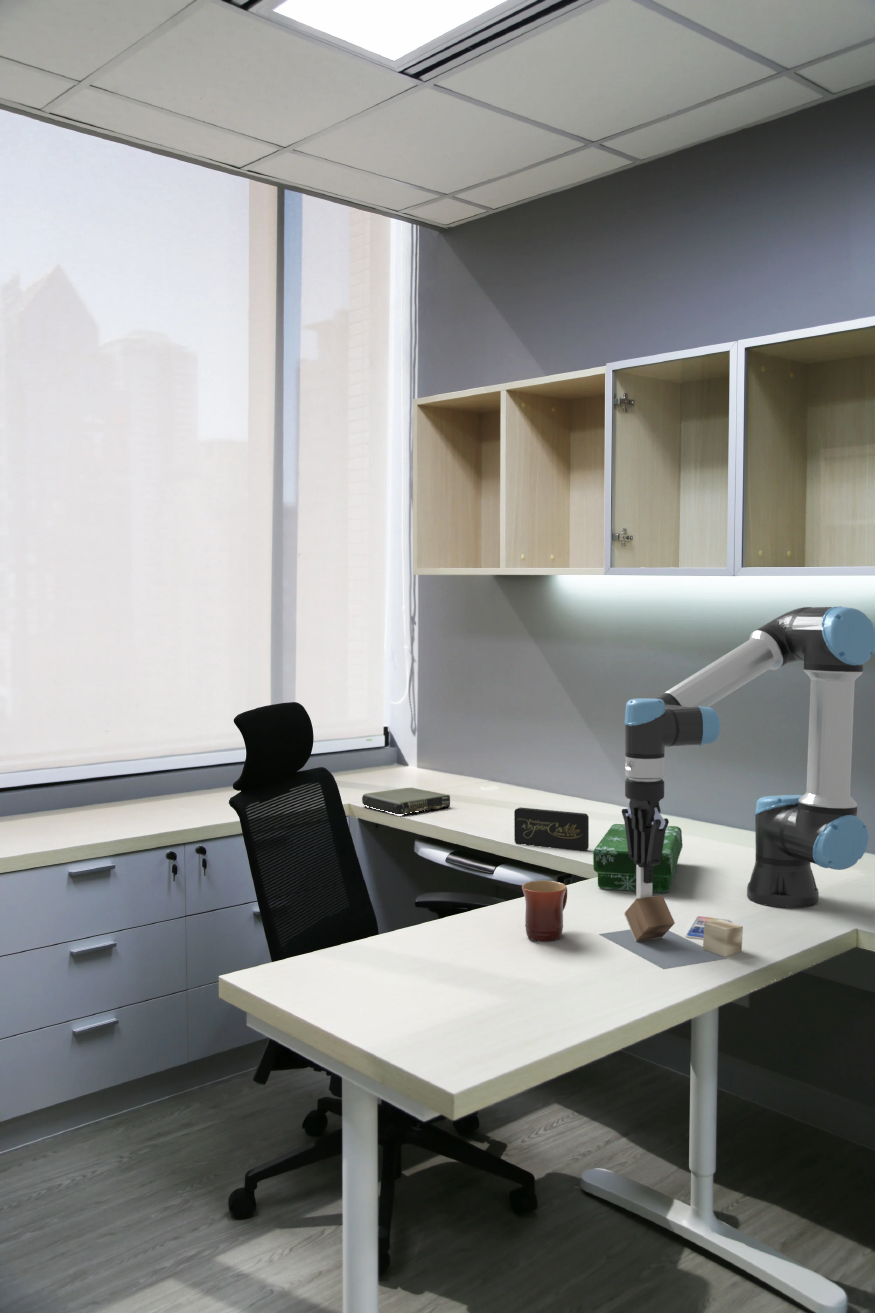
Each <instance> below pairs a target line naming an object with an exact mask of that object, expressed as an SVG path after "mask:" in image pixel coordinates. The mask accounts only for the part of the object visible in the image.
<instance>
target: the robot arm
mask: <svg viewBox="0 0 875 1313" xmlns="http://www.w3.org/2000/svg"><path fill="white" fill-rule="evenodd" d="M874 654H875V626H874V623H873V622H872V620H871V619H870V618H868V616H867V614H866V613H865V612H863V611H861V610H860V609H857V608H854V607H847V606H846V607H845V606H821V607H819V606H818V607H817V606H816V607H813V606H810V607H809V606H806V607H805V606H804V607H799V608H795V609H793V610H790V611H788V612H785V613H783V614H781V615H780V616H778V617H776V618H774V619H772V620H771V621H768V622H767V623H766V624H764V625H762V626H760V627H759V628H757V629H756V630H754V631H752V632H751V634H750V636H749V639H748V640H746V641H745V642H743V643H742V644H740V645H739V646H737V647H736V648H734V649H732V650H731V651H729V652H728V653H726V654H724V655H722V656H721V657H719V658H718V659H716V660H715V661H713V662H711V663H710V664H708V665H707V666H704V667H703V668H701V669H700V670H699V671H697V672H696V673H694V674H692V675H690V676H688V677H687V678H686V679H683V681H681V682H680V683H678V684H675V685H674V686H673V687H672V688H670V689H668V690H666V691H665V692H663V693H661V694H659V695H658V696H656V697H654V698H646V697H645V698H641V697H640V698H639V697H638V698H632V699H629V700H628V701H627V702H626V704H625V713H624V723H623V724H624V744H625V745H624V749H625V751H624V752H625V753H624V754H625V760H624V761H625V763H624V767H625V769H624V776H626V777H627V778H626V779H625V781H624V797H625V798H626V799H629V802H628V806H627V808H622V809H621V814H622V815H621V816H622V818H623V821H624V824H625V830H626V838H627V846H628V854H629V858H630V859H633V860H634V863H635V864H636V891H635V894H636V898H635V899H639V898H646V897H653V892H652V883H653V867H654V865H659V864H660V863H661V857H662V850H663V844H664V837H665V830H666V828H667V826H669V823H670V822H669V819H668V818H664V817H663V816H662V814H661V813H662V812H661V806H660V801H661V800H663V799H665V781H664V779H663V778H664V777H665V776H666V774H665V763H666V762H665V760H666V759H665V753H666V751H665V750H666V749H665V747H666V748H667V747H668V748H669V747H670V748H671V747H682V746H700V747H701V746H703V745H709V744H713V743H715V742H716V741H717V739H719V736H720V733H721V720H720V716H719V714H718V713H717V711H716V710H715V709H714V708H712V707H711V706H713V705H714V704H716V703H717V702H719V701H720V700H722V699H723V698H725V697H727V696H728V695H730V694H731V693H733V692H734V691H737V689H739V688H741V687H743V686H744V685H746V684H747V683H749V682H751V681H752V680H754V679H755V678H757V677H758V676H760V675H761V674H763V673H765V672H767V671H768V670H772V671H777V670H779V669H781V667H783V666H785V665H788V664H791V663H795V662H796V663H797V662H803V672H804V673H805V674H806V676H808V677H809V679H810V690H809V716H808V719H809V720H808V740H807V741H808V742H807V743H808V744H807V745H808V746H807V765H806V766H807V770H806V792H805V793H804V794H782V795H778V794H777V795H767V796H766V795H765V796H762V797H760V798H759V799H757V800H756V804H755V805H756V806H755V813H754V816H755V818H754V821H755V822H754V823H755V824H754V825H755V826H754V827H755V832H754V833H755V839H754V840H755V857H754V858H755V861H754V866H753V869H752V872H751V875H750V878H749V882H748V884H747V886H746V897H747V898H748V899H749V900H750V901H753V902H754V903H757V904H760V905H764V906H769V907H776V908H793V909H794V908H807V907H812V906H815V905H818V903H819V894H820V892H819V889H818V886H817V884H816V879H815V876H814V873H813V870H812V866H811V864H814V865H817V866H819V867H821V868H824V869H831V870H837V871H840V870H841V871H843V870H846V869H849V868H852V867H853V866H855V865H856V864H857V863H858V862H859V860H861V859H862V858H863V856H864V855H865V853H866V851H867V848H868V846H869V841H870V837H869V836H870V835H869V829H868V827H867V825H866V824H865V822H864V821H863V820H862V819H861V818H859V817H858V803H857V801H855V799H853V797H852V796H851V782H852V759H853V758H852V757H853V756H852V754H853V753H852V751H853V735H854V734H853V732H854V731H853V730H854V710H855V709H854V707H855V706H854V703H855V681H856V680H857V679H858V678H859V677H860V676H861V675H862V674H863V672H864V664H865V663H867V662H868V661H869V660H870V659H871V658H872V655H874ZM633 851H634V852H633Z"/></svg>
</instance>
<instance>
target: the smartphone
mask: <svg viewBox="0 0 875 1313" xmlns="http://www.w3.org/2000/svg"><path fill="white" fill-rule="evenodd" d="M717 920H724V921H727V922H730V923H733V922H732V920H730V919H723V918H717V917H710V916H701V915H700V916H699V915H698V916H696V917H695V919H694V920H693V922H692V923H691V925H690V927H688V928H689V929H688V930H687V931H686V934H684V938H686V939H690V940H691V939H694V940H700V941H703V939H704V923H707V922H712V921H717Z"/></svg>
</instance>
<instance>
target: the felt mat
mask: <svg viewBox="0 0 875 1313" xmlns="http://www.w3.org/2000/svg"><path fill="white" fill-rule="evenodd" d="M598 935H599V936H601V937H603V938H605V939H607V940H608V941H610V942H612V943H614V944H616V945H618V946H619V947H622V948H623V949H624V950H625V949H626V950H627V951H628V952H631V953H632V954H635V955H637V957H641V958H642V959H643V960H646V961H648V962H649V963H652V964H653V965H655V966H656V967H658V968H660V969H663V970H667V969H673V968H678V967H684V966H691V965H697V964H703V963H709V962H713V961H714V962H715V961H721V960H727V959H728V958H727V956H725V957H724V956H721V955H718V954H715V953H712V952H709V951H706V950H703V946H702V945H700V944H698V943H696V942H694V941H691V939H689V938H686V937H685V936H684V937H683V936H681V935H680V934H677V933H675V932H673V931H670V929H669V930H668V931H667V932H666V933H665V935H664V936H663V937H662V938H656V939H650V940H643V941H637V942H635V939H634V937H633V934H632V932H631V930H630V929H624V930H618V931H616V930H615V931H610V932H604V933H598Z"/></svg>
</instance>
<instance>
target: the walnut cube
mask: <svg viewBox="0 0 875 1313" xmlns="http://www.w3.org/2000/svg"><path fill="white" fill-rule="evenodd" d="M623 915H624V917H625V920H626V922H627V925H628V926H629V930H631V932H632V934H633V937H634V939H635V942H637V941H643V940H650V939H656V938H662V937H663V936H664V935H665V933H666V932H667V931H668V930H669V931H670V929H671V928H672V927H673V926H674V925H675V924H676V923H675V920H674V918H673V916H672V913H671V911H670V909H669V907H668V904H667V902H666V899H665V898H664V895H656V896H652V897H646V898H639V899H638V898H635V900H634V901H633V902H632V903H631V905H630V906H629V907H628V908H627V909H626V910H625V912H624V913H623Z"/></svg>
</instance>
